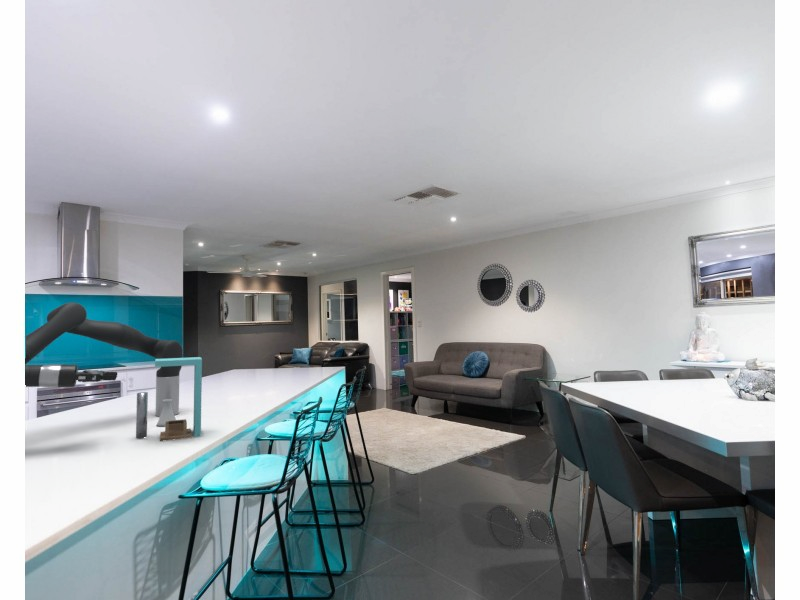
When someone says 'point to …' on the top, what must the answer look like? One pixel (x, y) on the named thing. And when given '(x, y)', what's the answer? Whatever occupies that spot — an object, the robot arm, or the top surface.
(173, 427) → the socket
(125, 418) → the top surface
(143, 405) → the peg
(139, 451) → the top surface
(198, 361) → the teal angle bracket
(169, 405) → the flask
